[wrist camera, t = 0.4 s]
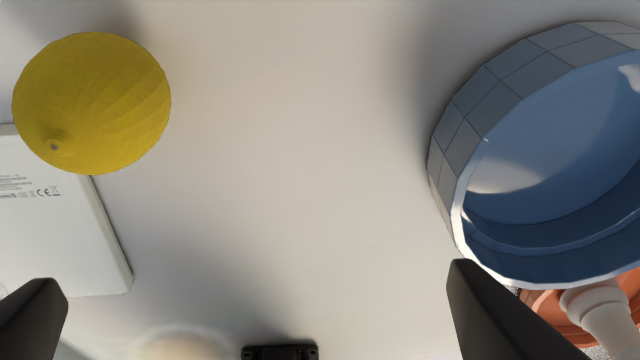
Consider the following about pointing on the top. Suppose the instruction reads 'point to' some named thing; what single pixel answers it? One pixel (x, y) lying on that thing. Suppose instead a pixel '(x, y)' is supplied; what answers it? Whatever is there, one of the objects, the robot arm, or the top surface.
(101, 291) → the hard drive
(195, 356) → the top surface
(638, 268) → the orange round lid
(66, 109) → the lemon
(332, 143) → the top surface
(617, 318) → the rook chess piece
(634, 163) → the bowl
